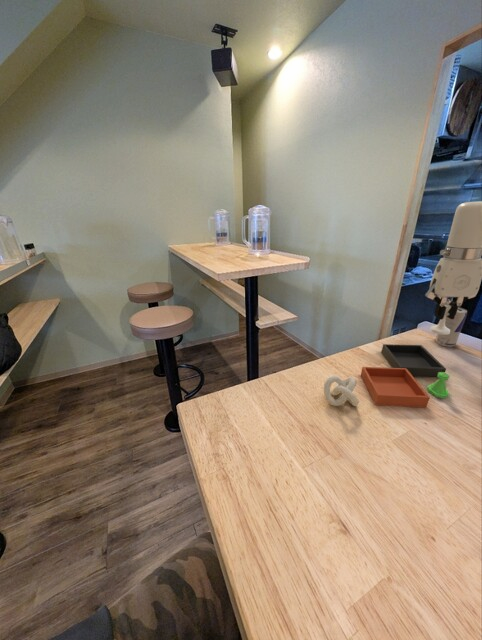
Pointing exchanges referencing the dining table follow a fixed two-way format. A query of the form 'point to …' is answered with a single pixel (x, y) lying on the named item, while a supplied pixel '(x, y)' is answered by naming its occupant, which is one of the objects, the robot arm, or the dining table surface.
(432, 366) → the charcoal bin
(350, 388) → the knot
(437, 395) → the game piece
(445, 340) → the energy drink
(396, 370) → the terracotta bin
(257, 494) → the dining table surface
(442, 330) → the chess piece
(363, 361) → the dining table surface
